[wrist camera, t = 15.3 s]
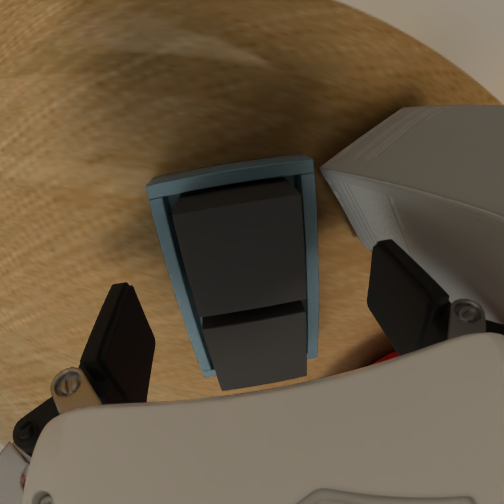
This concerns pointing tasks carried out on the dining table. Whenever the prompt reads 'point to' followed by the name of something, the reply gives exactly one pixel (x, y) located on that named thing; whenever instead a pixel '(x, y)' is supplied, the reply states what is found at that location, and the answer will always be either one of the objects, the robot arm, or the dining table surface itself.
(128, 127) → the dining table surface
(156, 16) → the dining table surface
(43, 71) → the dining table surface
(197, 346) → the tray
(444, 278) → the cosmetic box
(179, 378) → the dining table surface
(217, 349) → the seated pad
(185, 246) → the loose pad
